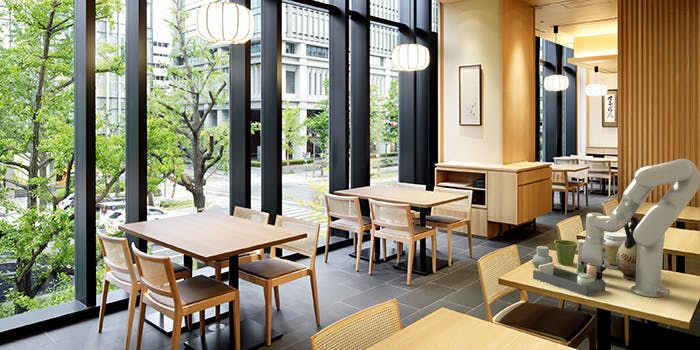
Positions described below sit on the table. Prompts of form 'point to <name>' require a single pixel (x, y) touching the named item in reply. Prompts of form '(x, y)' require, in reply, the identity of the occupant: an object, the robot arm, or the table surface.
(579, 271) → the skincare box
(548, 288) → the table surface
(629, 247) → the ceramic jug
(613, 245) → the supplement tub
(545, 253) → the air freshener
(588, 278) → the sage ceramic jar
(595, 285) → the grey tray
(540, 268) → the pusher plate
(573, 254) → the plant pot
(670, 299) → the table surface
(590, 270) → the terracotta jar
